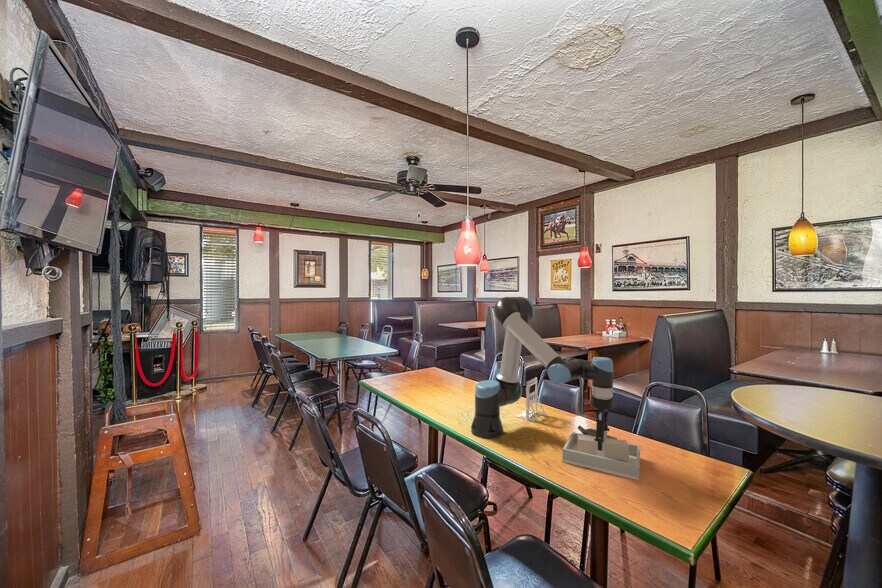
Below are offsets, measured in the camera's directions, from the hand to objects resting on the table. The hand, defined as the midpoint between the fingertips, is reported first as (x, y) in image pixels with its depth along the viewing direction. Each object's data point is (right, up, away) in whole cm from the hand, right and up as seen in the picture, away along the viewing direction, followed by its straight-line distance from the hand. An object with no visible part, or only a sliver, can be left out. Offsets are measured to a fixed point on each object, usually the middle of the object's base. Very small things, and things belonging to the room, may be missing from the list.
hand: (601, 452), depth 140 cm
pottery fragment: (+8, -4, +21) cm, 23 cm away
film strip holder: (-16, -3, +50) cm, 53 cm away
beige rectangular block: (0, -1, 0) cm, 1 cm away
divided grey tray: (0, -3, 0) cm, 3 cm away
